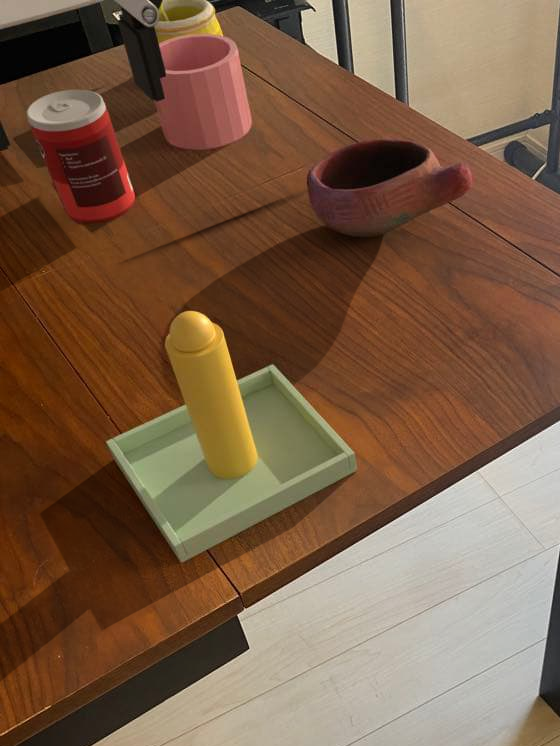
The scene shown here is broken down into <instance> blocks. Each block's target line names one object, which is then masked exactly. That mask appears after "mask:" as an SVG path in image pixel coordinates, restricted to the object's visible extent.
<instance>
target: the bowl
mask: <svg viewBox="0 0 560 746" xmlns="http://www.w3.org/2000/svg"><path fill="white" fill-rule="evenodd" d="M473 181H474V180H473V175H472V172H471V169H470V168H469V166H468V165H467V164H464V163H463V162H462V163H455V164H452V165H450V166H448V167H444V166H441V165H440V162H439V160H438V159H437V157H436V155H435V153H434V152H433V150H431V149H430V148H429V147H428V146H426V145H424V144H422V143H420V142H417V141H414V140H409V139H393V138H392V139H391V138H377V139H369V140H368V139H367V140H364V141H358V142H353V143H350V144H347V145H345V146H343V147H340V148H338V149H337V150H335V151H333V152H331V153H330V154H327V155H326V156H324V157H322V159H320V160H318V162H317V163H315V164H314V165H313V166H312V167H311V169H309V170H308V174H307V176H306V187H307V194H308V200H309V202H310V206H311V207H312V209H313V212H314V213H315V215H316V216H317V217H318V219H320V221H322V223H324V225H326V226H327V227H328V228H329V229H331V230H333V231H335V232H337V233H340V234H342V235H346V236H351V237H357V238H371V237H376V236H377V237H378V236H381V235H385V234H387V233H389V232H391V231H394V230H395V229H397V228H399V227H401V226H403V225H405V224H408V223H409V222H411V221H413V220H414V219H416V218H417V217H420V216H422V215H423V214H426V213H428V212H430V211H432V210H435V209H437V208H440V207H442V206H445V205H446V204H447V205H448V203H451V202H453V201H456V200H458V199H459V198H461V197H463V196H464V195H465V194H466V193H467V192H468V191H469V190H470V189H471V188H472V186H473Z"/></svg>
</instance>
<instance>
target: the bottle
mask: <svg viewBox="0 0 560 746" xmlns="http://www.w3.org/2000/svg"><path fill="white" fill-rule="evenodd" d="M164 347H165V350H166V353H167V356H168V359H169V361H170V364H171V367H172V370H173V373H174V376H175V379H176V381H177V384H178V387H179V390H180V393H181V396H182V398H183V401H184V405H186V407H187V410H188V413H189V415H190V418H191V421H192V424H193V427H194V430H195V432H196V435H197V438H198V441H199V444H200V447H201V449H202V452H203V455H204V458H205V461H206V464H207V466H208V469H209V471H210V472H211V473H212V474H213V475H215V476H216V477H219V478H223V479H234V478H238V477H241V476H243V475H245V474H247V473H248V472H250V471H251V470H252V469H253V468H254V466H255V465H256V463H257V459H258V455H257V451H256V448H255V444H254V441H253V437H252V434H251V430H250V426H249V423H248V419H247V416H246V412H245V409H244V405H243V401H242V398H241V394H240V391H239V387H238V384H237V380H238V379H237V377H236V373H235V370H234V366H233V363H232V359H231V355H230V351H229V348H228V345H227V340H226V337H225V334H224V331H223V329H222V328H221V327H220V326H219V325H218V324H217V323H214V322H212V321H211V319H210V318H209V317H208V316H206V315H205V314H203V313H201V312H199V311H195V310H185V311H184V312H180V313H179V314H178V315H177V316H176V317H174V319H173V320H172V322H171V324H170V327H169V333H168V335H167V336H166V337H165V340H164Z"/></svg>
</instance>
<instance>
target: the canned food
mask: <svg viewBox="0 0 560 746" xmlns="http://www.w3.org/2000/svg"><path fill="white" fill-rule="evenodd" d="M25 113H26V118H27V121H28V124H29V127H30V129H31V132H32V135H33V137H34V139H35V142H36V144H37V146H38V149H39V151H40V154H41V156H42V159H43V161H44V164H45V166H46V169H47V171H48V174H49V176H50V178H51V181H52V183H53V186H54V188H55V191H56V193H57V195H58V197H59V200H60V203H61V205H62V208H63V210H64V211H65V213H66V214H67V216H68V217H69V218H70V219H71V220H72V221H73V222H75V223H77V224H79V225H83V226H84V225H85V224H84V223H87V224H88V223H89V224H90V223H92V224H93V223H95V224H96V223H102V222H107V221H111V220H113V219H117V218H119V217H121V216H123V215H124V214H126V213H127V212H128V211H130V209H131V208H132V207H133V206H134V204H135V202H136V194H135V191H134V188H133V185H132V181H131V179H130V175H129V172H128V169H127V166H126V163H125V160H124V157H123V154H122V151H121V148H120V145H119V142H118V139H117V136H116V133H115V129H114V125H113V123H112V121H111V117H110V113H109V111H108V108H107V106H106V103H105V102H104V99H103V97H102V96H101V95H100V94H99V93H97V92H94V91H91V90H88V89H87V90H86V89H65V90H60V91H56V92H52V93H49V94H47V95H44V96H42V97H40V98H38V99H36V100H34V102H32V103H31V104H30V105H29V106H28V108H27V109H26V112H25Z"/></svg>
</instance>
